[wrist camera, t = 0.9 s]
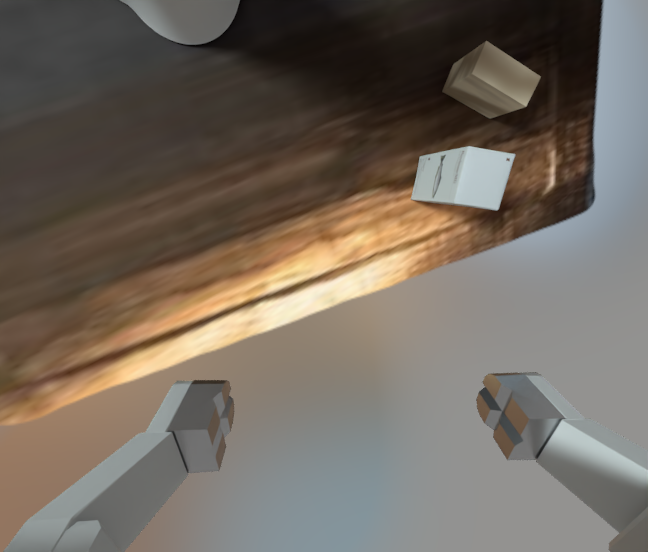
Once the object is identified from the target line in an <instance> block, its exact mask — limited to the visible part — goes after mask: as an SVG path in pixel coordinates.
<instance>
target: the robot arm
mask: <svg viewBox="0 0 648 552" xmlns="http://www.w3.org/2000/svg"><path fill="white" fill-rule="evenodd" d="M120 1H122V2H123V3H125V4H127V5H128V6H130V7H131V8H132V9H133V10H134V11H135V12H136V13H137V15H138V16H139V17H140V18H141V19H142V20H143V21H144V22H145V23H146V24H147V25H148V26H149V27H150V28H152V29H153V30H154V31H156V32H157V33H158V34H160V35H162V36H163V37H165V38H167V39H169V40H172V41H175V42H178V43H182V44H188V45H197V44H203V43H207V42H210V41H212V40H214V39H216V38H217V37H219V36H220V35H221V34H223V33H224V32H225V31H226V29H227V28H228V27H229V26H230V24H231V23H232V21H233V19H234V17H235V15H236V12H237V9H238V5H239V2H240V0H120ZM483 384H484V386H485V388H483V389H482V390H481V391H480V392H479V393H478V396H477V399H476V401H477V409H478V412H479V414H480V417H481V418H482V420H483V421H484V423H485V424H486V425H487V426H489V427H490V428H492V429H493V430H494V434H493V438H494V439H495V441H496V443H497V444H498V446H499V447H500V449H501V451H502V452H503V454H504V455H505V457H506V459H507V460H536V462H537V463H539V464H540V465H541V466H542V467H543V468H544V469H545V470H547V471H548V472H549V473H550V474H551V475H552V476H554V477H555V478H556V479H557V480H558V481H559V482H561V483H562V484H563V485H564V486H565V487H566V488H568V489H569V490H570V491H571V492H572V493H574V494H575V495H576V496H577V497H578V498H579V499H580V500H582V501H583V502H584V503H585V504H586V505H587V506H589V507H590V508H591V509H592V510H593V511H595V512H596V513H597V514H598V515H599V516H600V517H601V518H603V519H604V520H605V521H606V522H607V523H609V524H610V525H611V526H612V527H613V528H614V529H616V530H617V531H618V532H619V534H618V535H617V536H616V537H615V538H614V539H613V540H612V541H611V542H610V543H609V550H610V552H648V450H646V449H644V448H642V447H640V446H639V445H637V444H635V443H633V442H631V441H630V440H627V439H626V438H624V437H622V436H621V435H619V434H617V433H615V432H613V431H612V430H610V429H608V428H606V427H604V426H603V425H601V424H599V423H597V422H595V421H594V420H592V419H586V418H584V417H583V416H582V415H581V414H580V413H579V412H578V411H577V410H576V409H575V408H574V407H573V406H572V405H571V404H570V403H569V402H568V401H567V400H566V399H565V398H564V397H563V396H562V395H561V394H560V393H559V392H558V391H557V390H556V389H555V388H554V387H553V386H552V385H551V384H550V383H549V382H548V381H547V380H546V379H545V378H544V377H543V376H542V375H540V374H538V373H536V372H532V373H531V372H530V373H495V374H488V375H486V376H485V378H484V380H483ZM230 390H231V387H230V383H229V381H227V380H226V381H224V380H221V381H220V380H217V381H216V380H207V381H205V380H194V381H177V382H176V383H174V384H173V385H172V387H171V389H170V390H169V392H168V394H167V396H166V397H165V399H164V401H163V403H162V404H161V406H160V408H159V409H158V411H157V413H156V415H155V416H154V418H153V420H152V422H151V424H150V425H149V427H148V428H147V430H146V432H145V433H139V434H137V435H136V436H135V437H134V438H132V439H131V440H130V441H128V442H127V443H126V444H125V445H123V446H122V447H121V448H120V449H118V450H117V451H116V452H114V453H113V454H112V455H111V456H109V457H108V458H107V459H105V460H104V461H103V462H102V463H100V464H99V465H98V466H96V467H95V468H94V469H93V470H91V471H90V472H89V473H88V474H87V475H85V476H84V477H82V478H81V479H80V480H78V481H77V482H76V483H75V484H73V485H72V486H71V487H69V488H68V489H67V490H66V491H64V492H63V493H62V494H61V495H59V496H58V497H57V498H55V499H54V500H53V501H52V502H50V503H49V504H48V505H47V506H45V507H44V508H43V509H41V510H40V511H39V512H37V513H36V514H35V515H34V516H32V517H31V518H30V519H29V520H27V521H26V522H25V524H24V525H23V526H22V528H21V529H20V530H19V532H18V533H17V534H16V536H15V537H14V538H13V539H12V541H11V542H10V543H9V545H8V546H7V548H6V549H5V550H4V551H3V552H124V551H125V550H126V549H127V548H128V547H129V546H130V544H131V543H132V542H133V541H134V539H135V538H136V537H137V536H138V535H139V534H140V532H141V531H142V530H143V529H144V527H145V526H146V525H147V524H148V523H149V522H150V520H151V519H152V518H153V517H154V516H155V514H156V513H157V512H158V511H159V510H160V508H161V507H162V506H163V505H164V503H165V502H166V501H167V500H168V499H169V497H170V496H171V495H172V494H173V493H174V492H175V490H176V489H177V488H178V487H179V486H180V484H181V483H182V482H183V481H184V480H185V478H186V477H187V476H188V473H198V472H213V471H219V470H220V467H221V463H222V460H223V456H224V453H225V449H226V444H225V439H224V438H225V437H226V436H227V435H228V434H229V433H230V431H231V428H232V424H233V418H234V401H233V398H231V397H230V396H229V393H230Z"/></svg>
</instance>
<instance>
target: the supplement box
mask: <svg viewBox="0 0 648 552" xmlns="http://www.w3.org/2000/svg"><path fill="white" fill-rule="evenodd" d="M514 158H515V154H512V153H506V152H500V151H493V150H487V149H482V148H476V147H470V146H468V147H463V148H458V149H453V150H448V151H443V152H439V153H434V154H429V155H424V156H420V158H419V165H418V170H417V175H416V180H415V184H414V188H413V192H412V196H411V200H417V201H424V202H431V203H438V204H447V205H455V206H464V207H473V208H481V209H489V210H496V211H497V210H498V209H499V207H500V203H501V200H502V197H503V193H504V190H505V187H506V184H507V181H508V177H509V174H510V170H511V167H512V164H513V161H514Z"/></svg>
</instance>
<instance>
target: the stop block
mask: <svg viewBox="0 0 648 552" xmlns="http://www.w3.org/2000/svg"><path fill="white" fill-rule="evenodd" d="M540 78H541V76H539V75H538V74H536V73H535V72H533V71H531V70H530V69H528V68H527V67H525V66H524V65H522V64H521V63H519V62H518V61H516V60H515V59H513V58H512V57H510V56H509V55H507V54H506V53H504V52H503V51H501V50H500V49H498V48H497V47H495V46H494V45H492V44H491V43H489V42H488V41H485V42H484V43H483V44H481V45H480V46H478V47H477V48H475V49H474V50H473V51H471V52H470V53H468V54H467V55H466V56H464V57H463V58H461V59H460V60H459V61H457V62H456V63H454V64H453V66H452V69H451V71H450V73H449V76H448V78H447V81H446V83H445V85H444V88H443V90H442V92H444V93H445V94H447V95H449V96H451V97H452V98H454V99H456V100H458V101H459V102H461V103H463V104H465V105H466V106H468V107H470V108H472V109H474V110H475V111H477V112H479V113H481V114H482V115H484V116H486V117H488V118H489V119H491V118H494V117H497V116H500V115H503V114H506V113H509V112H512V111H515V110H518V109H521V108H524V107H526V106H527V104H528V102H529V100H530V98H531V96H532V94H533V92H534V90H535V88H536V86H537V84H538V82H539V80H540Z"/></svg>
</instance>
